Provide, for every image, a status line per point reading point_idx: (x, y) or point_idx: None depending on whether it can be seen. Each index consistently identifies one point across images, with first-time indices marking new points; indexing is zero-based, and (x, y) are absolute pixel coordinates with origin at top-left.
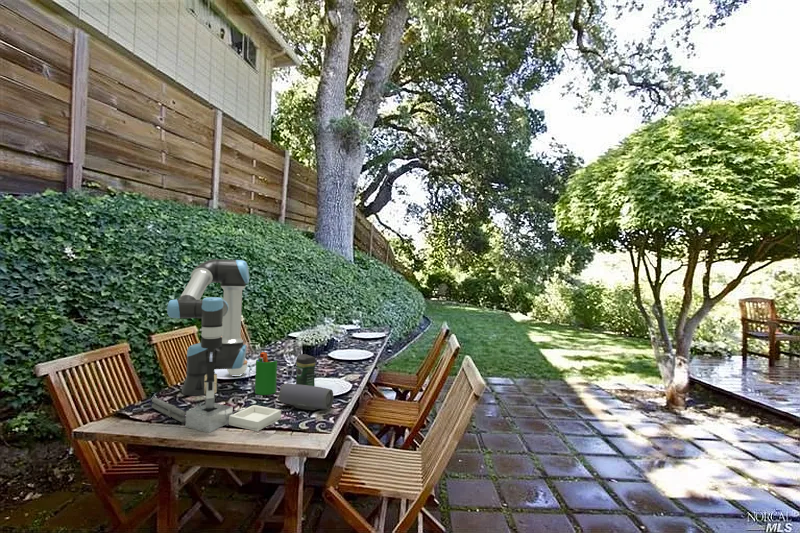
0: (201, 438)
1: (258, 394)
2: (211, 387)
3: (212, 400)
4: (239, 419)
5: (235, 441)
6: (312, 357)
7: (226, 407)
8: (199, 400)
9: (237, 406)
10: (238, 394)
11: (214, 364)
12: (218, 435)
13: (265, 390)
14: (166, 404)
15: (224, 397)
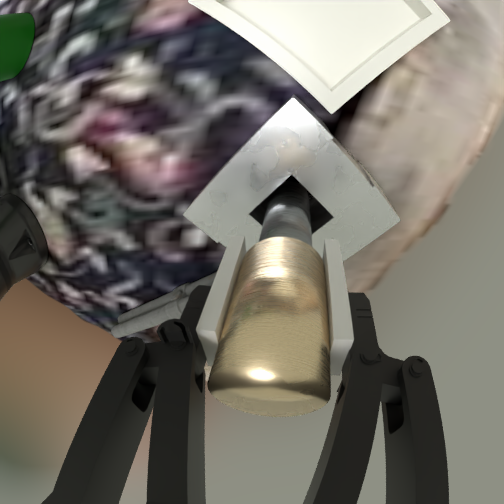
0: (416, 215)
1: (27, 57)
2: (369, 316)
3: (309, 232)
4: (379, 72)
5: (484, 120)
6: None
7: (292, 132)
8: (66, 226)
9: (110, 93)
10: (23, 122)
11: (186, 476)
12: (419, 161)
13: (22, 34)
14: (160, 323)
15: (41, 159)
